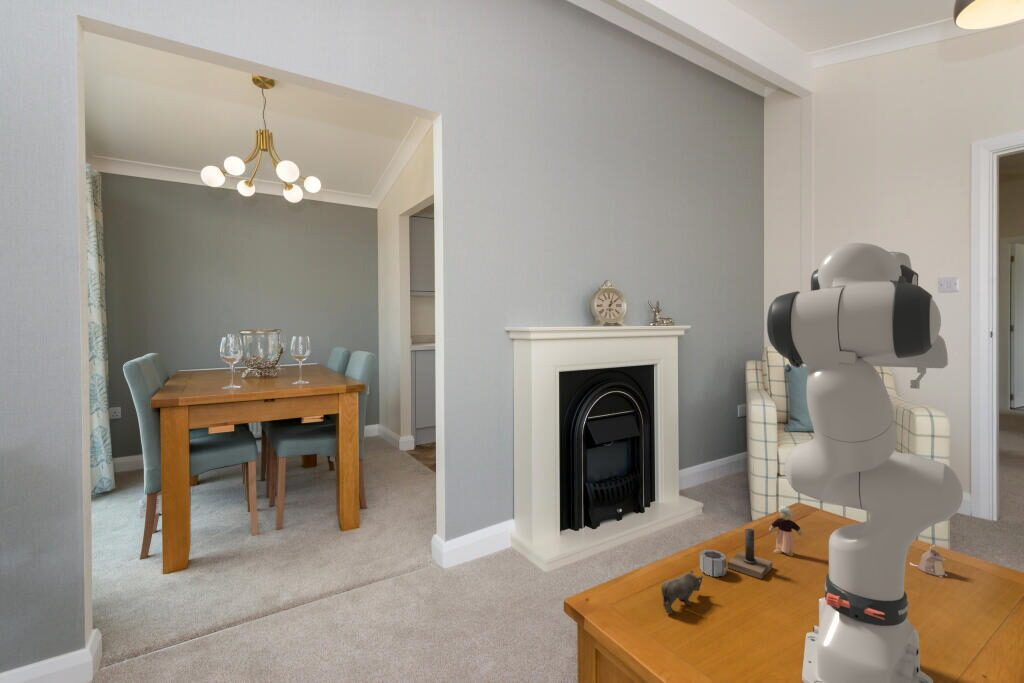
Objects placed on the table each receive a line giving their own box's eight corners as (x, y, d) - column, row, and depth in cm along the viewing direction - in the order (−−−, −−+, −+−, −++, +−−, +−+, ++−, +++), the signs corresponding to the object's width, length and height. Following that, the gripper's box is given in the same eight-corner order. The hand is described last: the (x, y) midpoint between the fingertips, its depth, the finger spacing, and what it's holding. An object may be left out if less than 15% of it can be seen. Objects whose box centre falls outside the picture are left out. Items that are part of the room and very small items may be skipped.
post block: (761, 579, 116) (761, 539, 116) (727, 567, 122) (727, 530, 121) (772, 567, 122) (772, 530, 121) (739, 557, 127) (739, 521, 127)
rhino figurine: (710, 596, 109) (710, 569, 109) (671, 616, 101) (671, 588, 101) (695, 588, 112) (695, 562, 112) (655, 607, 105) (655, 580, 105)
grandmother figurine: (771, 554, 129) (771, 507, 128) (768, 548, 132) (768, 502, 132) (804, 558, 126) (804, 510, 126) (799, 551, 130) (799, 505, 130)
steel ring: (720, 579, 116) (720, 562, 116) (696, 571, 120) (696, 555, 120) (729, 570, 120) (729, 554, 120) (706, 563, 124) (706, 547, 124)
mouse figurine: (913, 561, 124) (914, 535, 124) (951, 575, 117) (951, 547, 117) (901, 564, 123) (901, 538, 122) (938, 579, 115) (938, 551, 115)
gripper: (830, 326, 114) (830, 385, 114) (947, 324, 99) (947, 391, 100) (836, 326, 118) (836, 382, 118) (948, 324, 104) (948, 388, 104)
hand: (887, 386), depth 109 cm, fingers open, 8 cm apart
